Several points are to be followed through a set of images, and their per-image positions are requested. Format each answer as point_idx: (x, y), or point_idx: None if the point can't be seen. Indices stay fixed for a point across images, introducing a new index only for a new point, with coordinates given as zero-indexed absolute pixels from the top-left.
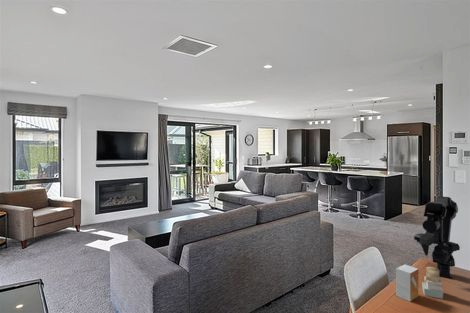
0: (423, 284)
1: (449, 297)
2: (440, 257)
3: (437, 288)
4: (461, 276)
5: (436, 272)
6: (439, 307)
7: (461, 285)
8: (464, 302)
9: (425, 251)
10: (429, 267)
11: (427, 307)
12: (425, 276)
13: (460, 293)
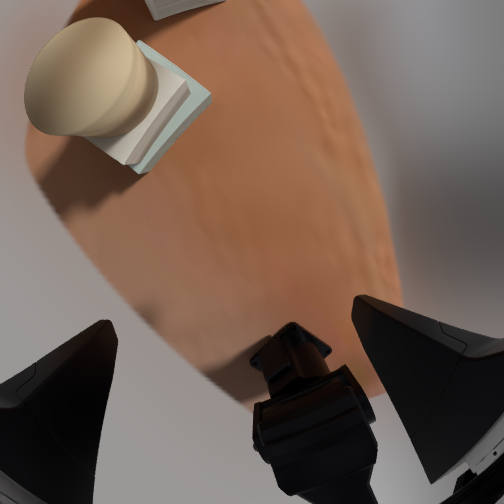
0: (180, 73)
1: (91, 167)
2: (308, 409)
3: None
4: (250, 398)
5: (35, 74)
6: None
7: (180, 339)
8: (49, 198)
9: (388, 319)
10: (111, 65)
11: (81, 7)
12: (177, 82)
13: (112, 262)
